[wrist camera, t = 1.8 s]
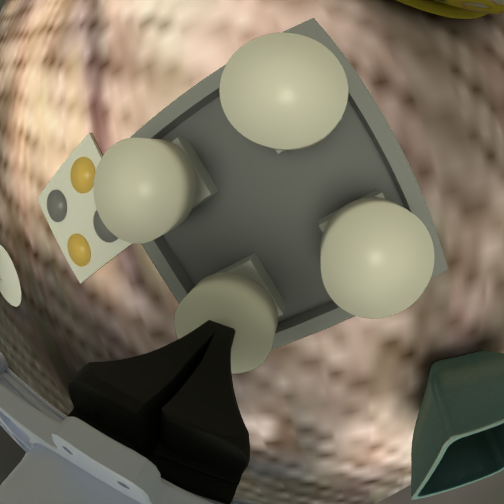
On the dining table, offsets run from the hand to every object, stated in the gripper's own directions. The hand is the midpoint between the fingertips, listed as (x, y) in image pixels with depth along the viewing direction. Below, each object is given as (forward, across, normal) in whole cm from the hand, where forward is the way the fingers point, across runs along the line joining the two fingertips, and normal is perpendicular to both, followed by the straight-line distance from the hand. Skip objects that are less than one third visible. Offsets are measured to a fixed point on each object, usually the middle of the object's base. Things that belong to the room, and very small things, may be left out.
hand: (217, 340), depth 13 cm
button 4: (+4, +6, -6) cm, 9 cm away
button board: (+6, 0, -6) cm, 8 cm away
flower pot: (+6, -18, +3) cm, 20 cm away
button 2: (+4, 0, -11) cm, 12 cm away
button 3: (+4, 0, 0) cm, 4 cm away
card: (+6, +14, -1) cm, 15 cm away
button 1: (+4, -6, -6) cm, 9 cm away
